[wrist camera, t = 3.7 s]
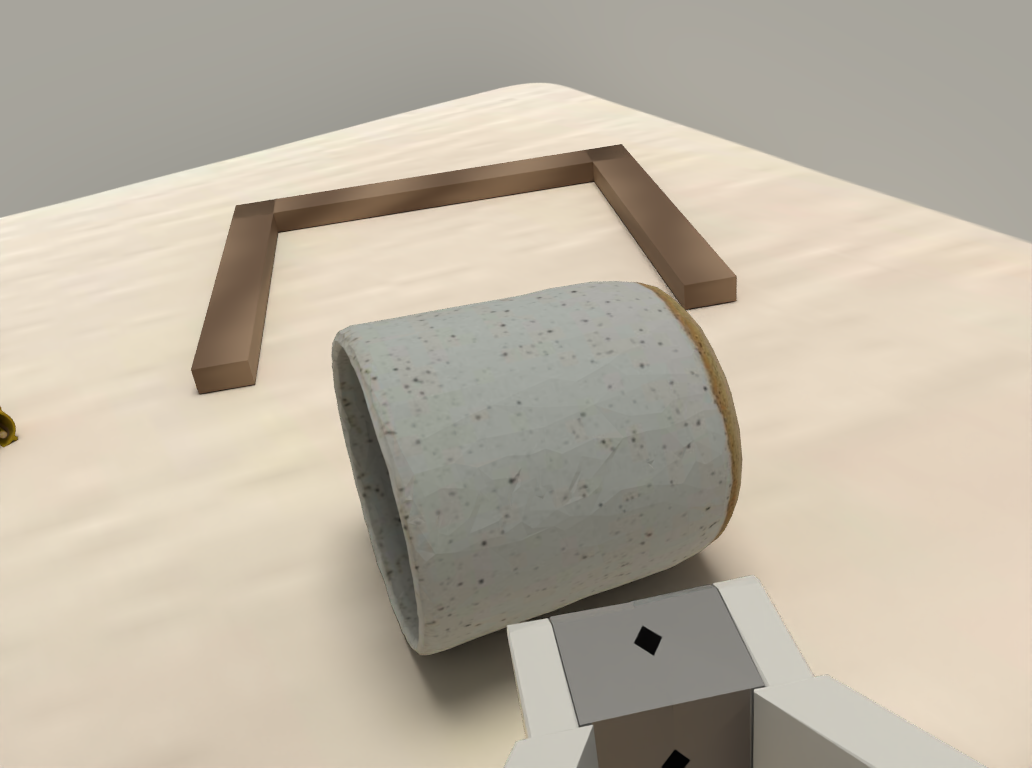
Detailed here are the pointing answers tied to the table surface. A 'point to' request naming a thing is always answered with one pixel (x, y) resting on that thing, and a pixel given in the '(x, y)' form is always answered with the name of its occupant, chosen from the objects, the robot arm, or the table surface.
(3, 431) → the extension cord
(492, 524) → the ceramic mug
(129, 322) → the table surface
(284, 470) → the table surface
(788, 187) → the table surface
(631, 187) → the frame
